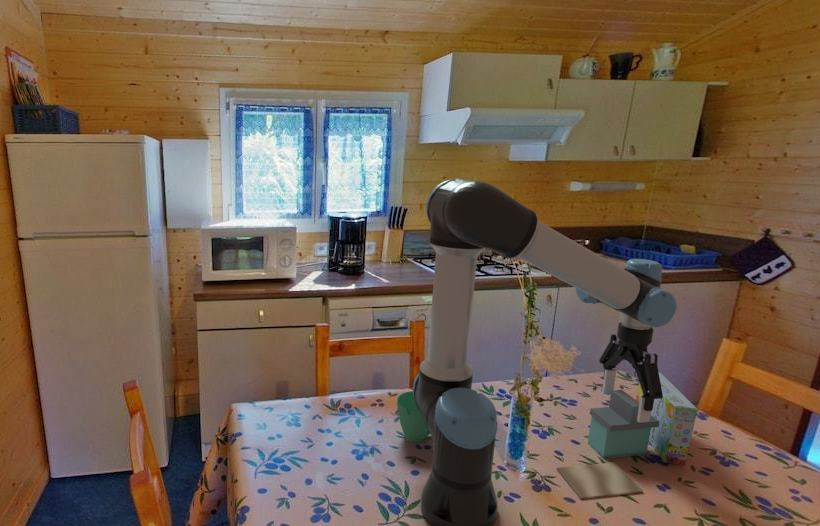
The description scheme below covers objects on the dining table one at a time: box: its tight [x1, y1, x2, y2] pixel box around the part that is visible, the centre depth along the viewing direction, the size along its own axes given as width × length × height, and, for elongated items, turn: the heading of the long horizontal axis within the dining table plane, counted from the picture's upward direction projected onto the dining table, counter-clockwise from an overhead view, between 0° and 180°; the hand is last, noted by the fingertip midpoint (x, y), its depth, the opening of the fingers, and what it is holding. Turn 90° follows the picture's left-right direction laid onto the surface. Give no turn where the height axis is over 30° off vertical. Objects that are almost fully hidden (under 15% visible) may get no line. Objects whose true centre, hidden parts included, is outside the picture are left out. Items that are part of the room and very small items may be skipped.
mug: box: [396, 390, 431, 443], centre depth 118 cm, size 15×10×10 cm
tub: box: [587, 415, 651, 459], centre depth 117 cm, size 12×6×8 cm, turn 102°
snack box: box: [635, 371, 698, 466], centre depth 121 cm, size 21×6×15 cm, turn 175°
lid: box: [589, 389, 660, 431], centre depth 115 cm, size 14×8×7 cm, turn 103°
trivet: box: [556, 461, 644, 500], centre depth 105 cm, size 15×10×1 cm, turn 102°
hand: (624, 406), depth 115 cm, fingers open, 13 cm apart
